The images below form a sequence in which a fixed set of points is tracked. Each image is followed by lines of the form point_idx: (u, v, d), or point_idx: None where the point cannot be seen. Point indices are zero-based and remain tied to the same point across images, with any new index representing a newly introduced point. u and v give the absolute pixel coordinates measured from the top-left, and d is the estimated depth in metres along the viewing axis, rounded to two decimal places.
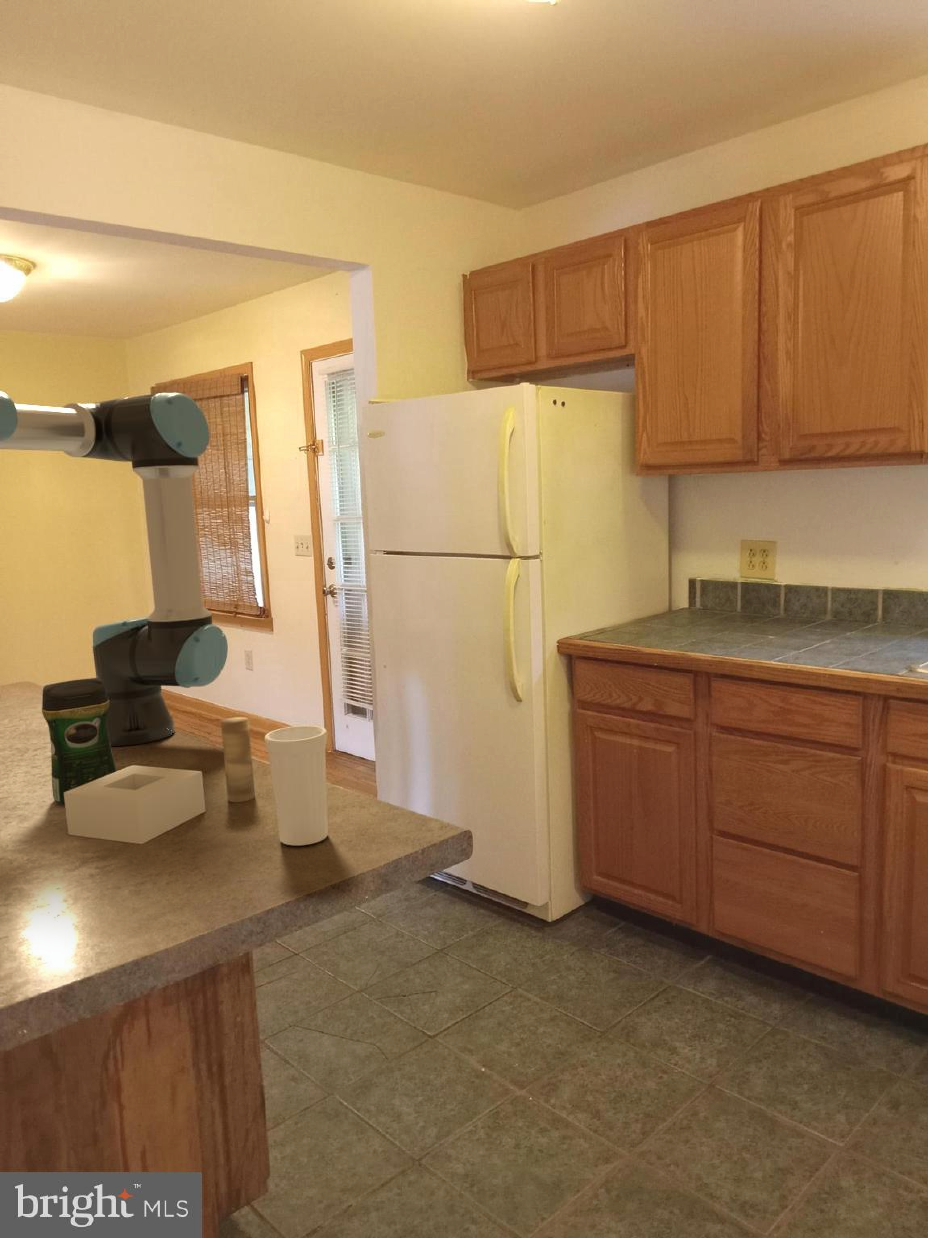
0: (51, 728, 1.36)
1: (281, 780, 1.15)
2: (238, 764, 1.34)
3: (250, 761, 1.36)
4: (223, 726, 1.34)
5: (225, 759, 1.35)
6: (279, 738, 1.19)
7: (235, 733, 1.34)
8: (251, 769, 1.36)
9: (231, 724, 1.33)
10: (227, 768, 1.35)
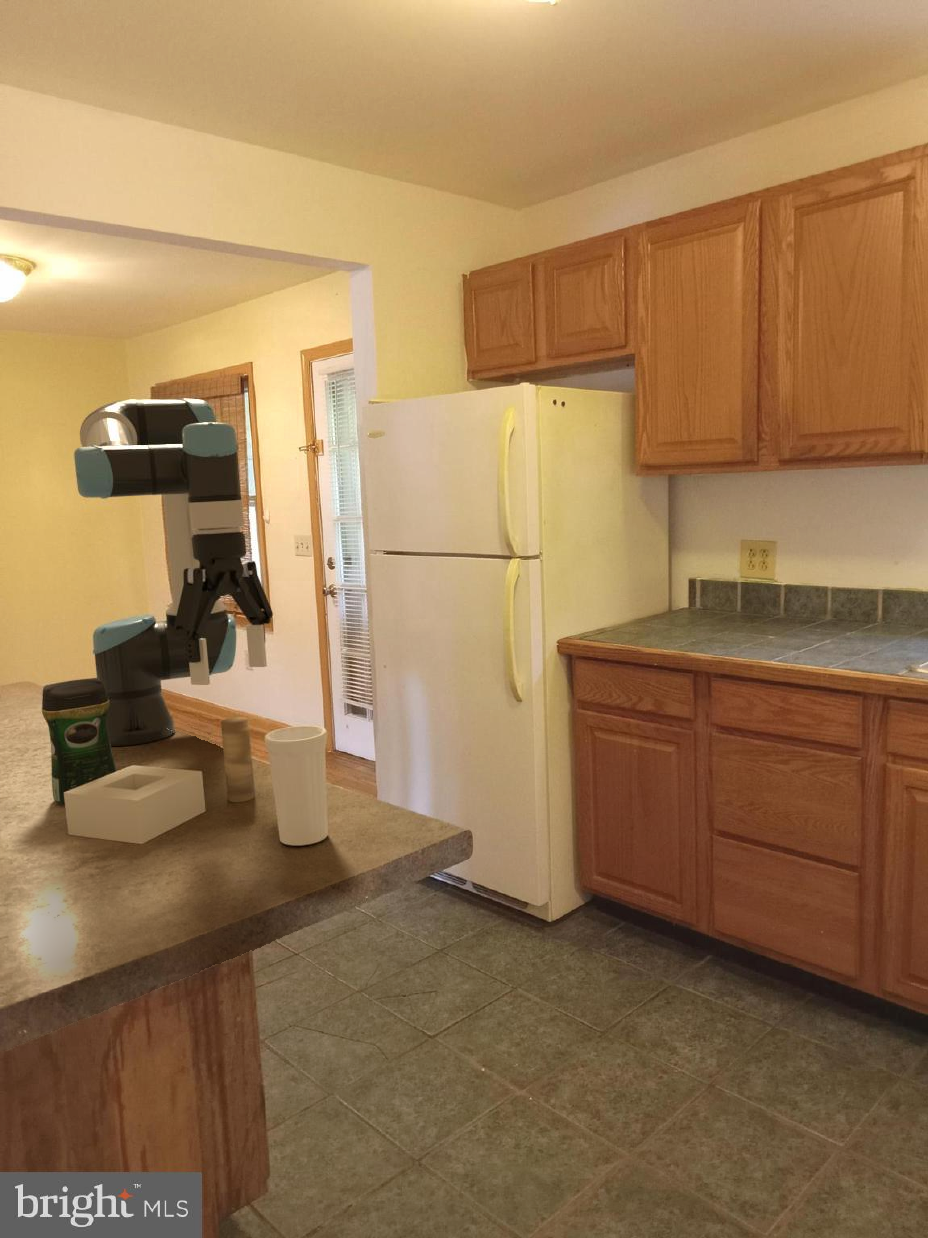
0: (51, 728, 1.36)
1: (281, 780, 1.15)
2: (238, 764, 1.34)
3: (250, 761, 1.36)
4: (223, 726, 1.34)
5: (225, 759, 1.35)
6: (279, 738, 1.19)
7: (235, 733, 1.34)
8: (251, 769, 1.36)
9: (231, 724, 1.33)
10: (227, 768, 1.35)
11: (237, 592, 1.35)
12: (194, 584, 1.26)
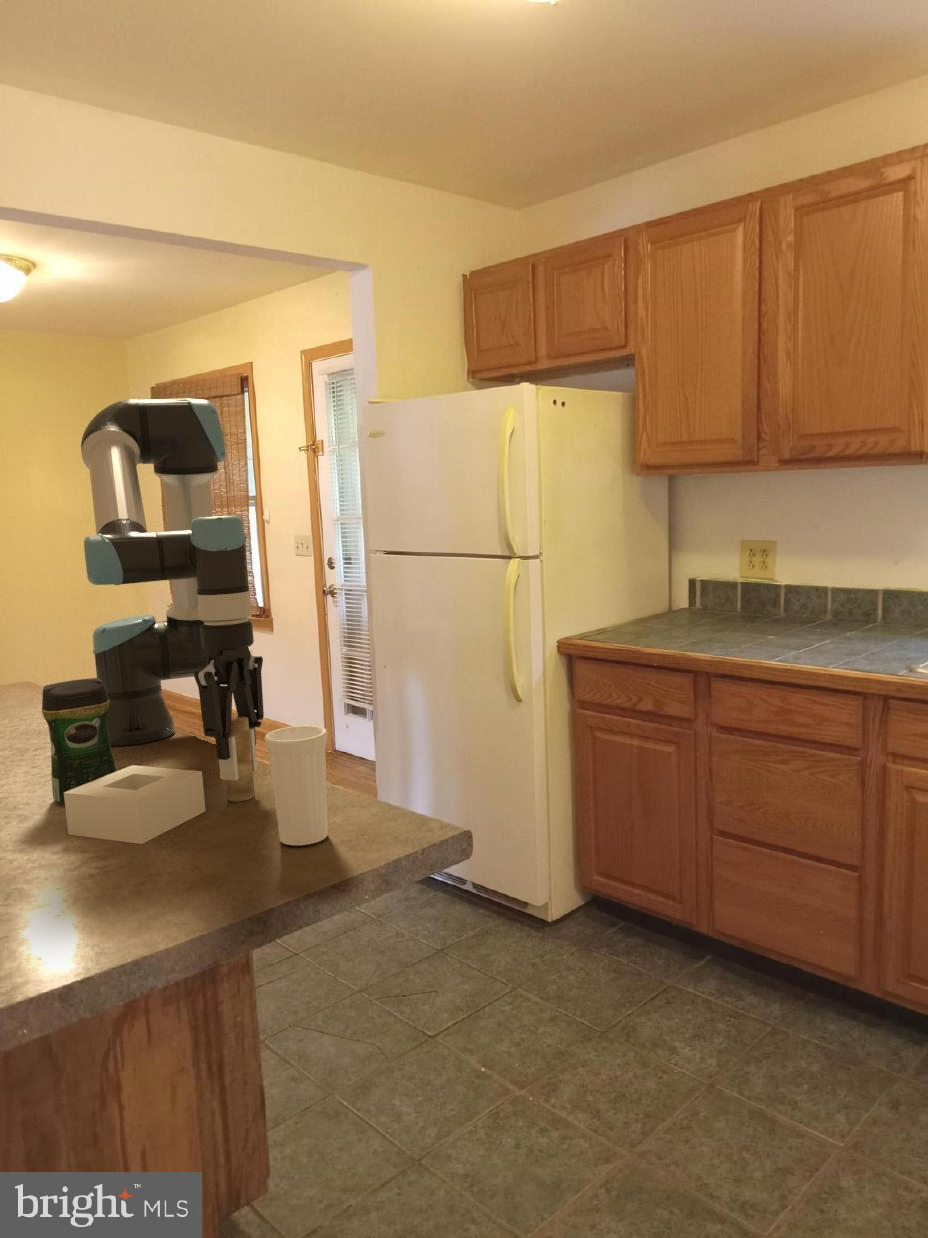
0: (51, 728, 1.36)
1: (281, 780, 1.15)
2: (238, 763, 1.34)
3: (250, 760, 1.36)
4: None
5: None
6: (279, 738, 1.19)
7: (235, 732, 1.34)
8: (251, 768, 1.36)
9: (231, 723, 1.34)
10: None
11: (238, 682, 1.36)
12: (209, 688, 1.29)
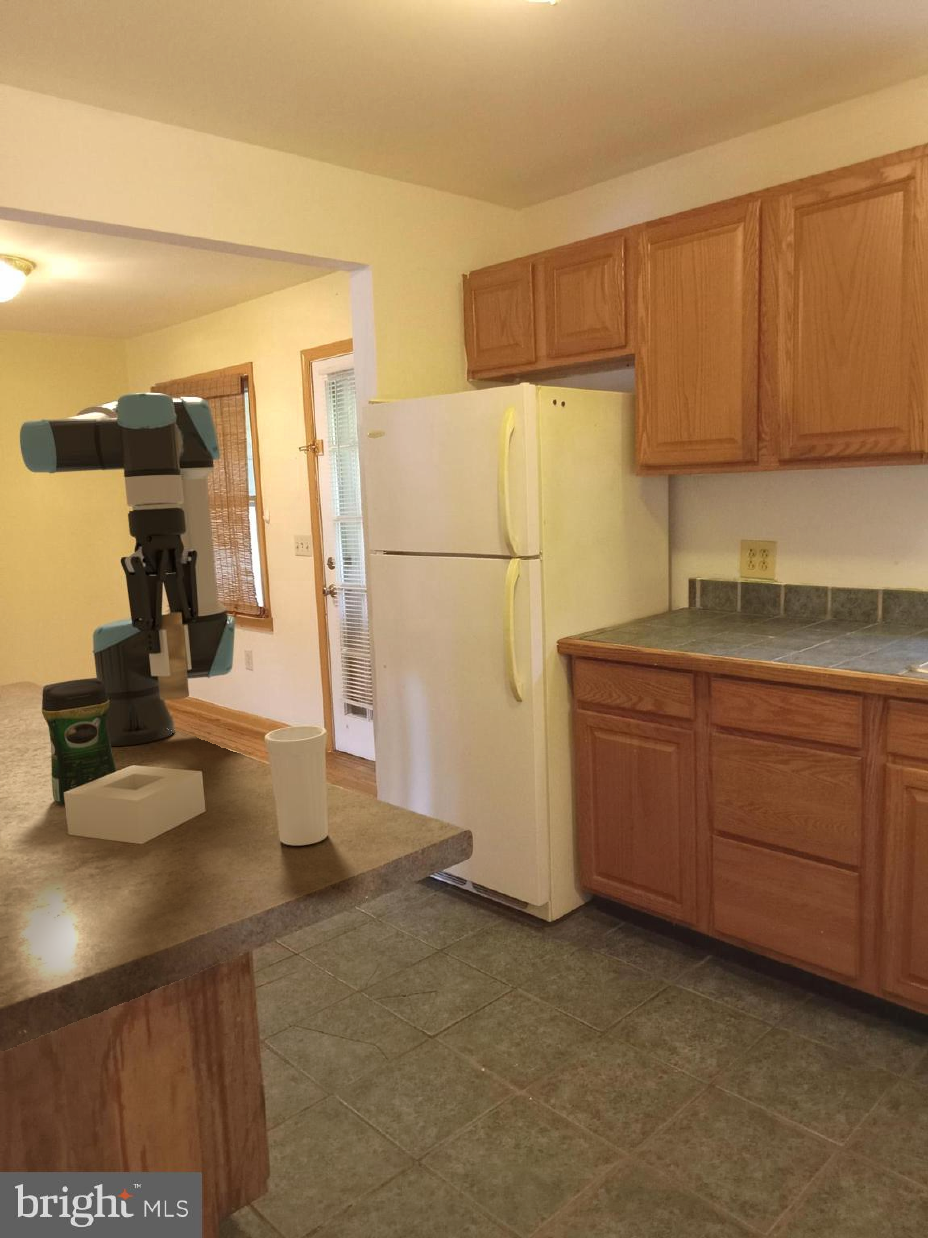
0: (51, 728, 1.36)
1: (280, 780, 1.15)
2: (170, 659, 1.27)
3: (183, 657, 1.29)
4: None
5: None
6: (279, 738, 1.19)
7: (166, 625, 1.26)
8: (184, 666, 1.29)
9: (162, 616, 1.26)
10: None
11: (170, 575, 1.28)
12: (136, 574, 1.22)
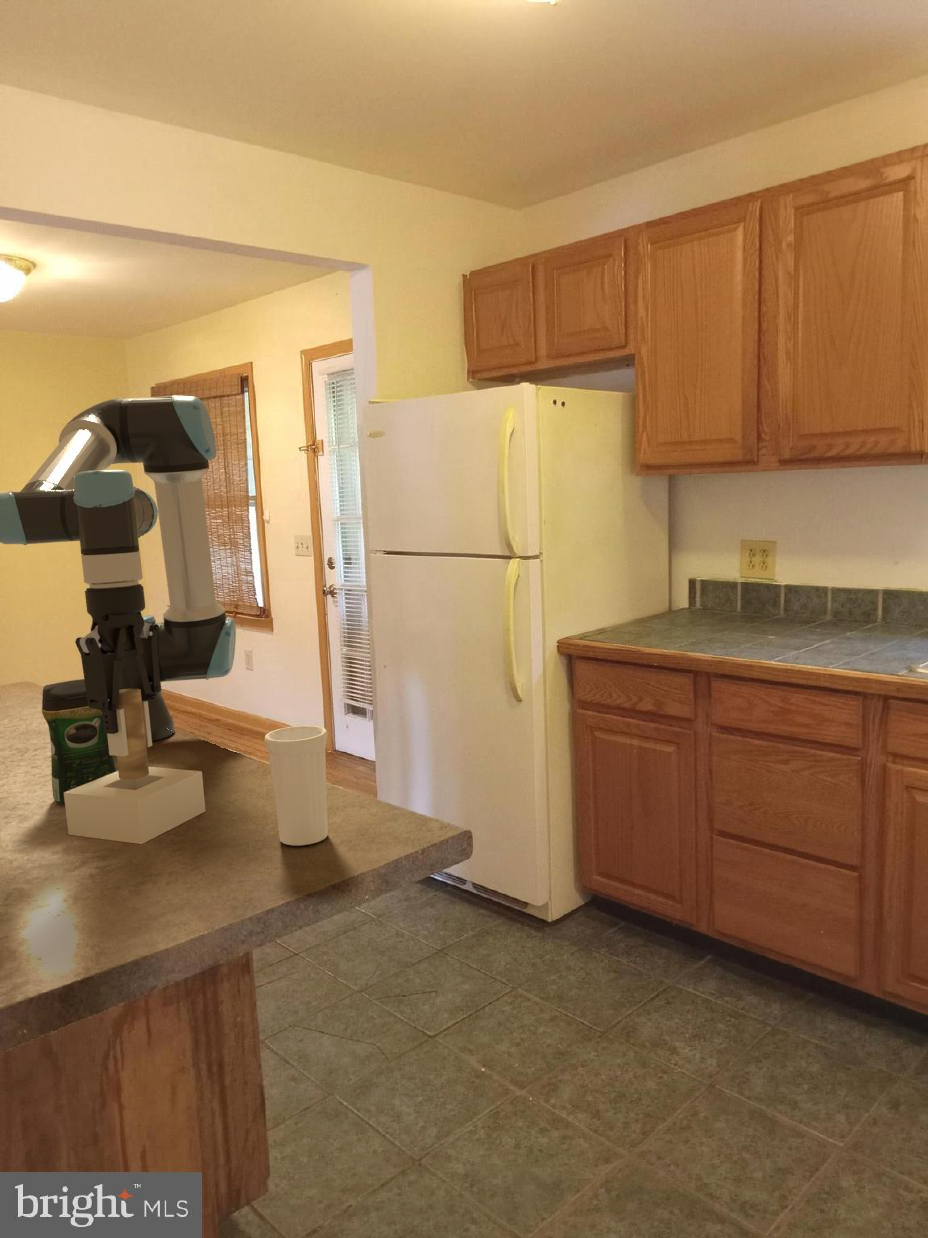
0: (51, 728, 1.36)
1: (281, 780, 1.15)
2: (128, 738, 1.25)
3: (142, 735, 1.26)
4: None
5: None
6: (279, 738, 1.19)
7: (124, 704, 1.24)
8: (144, 744, 1.26)
9: (120, 695, 1.24)
10: None
11: (129, 651, 1.26)
12: (91, 655, 1.19)
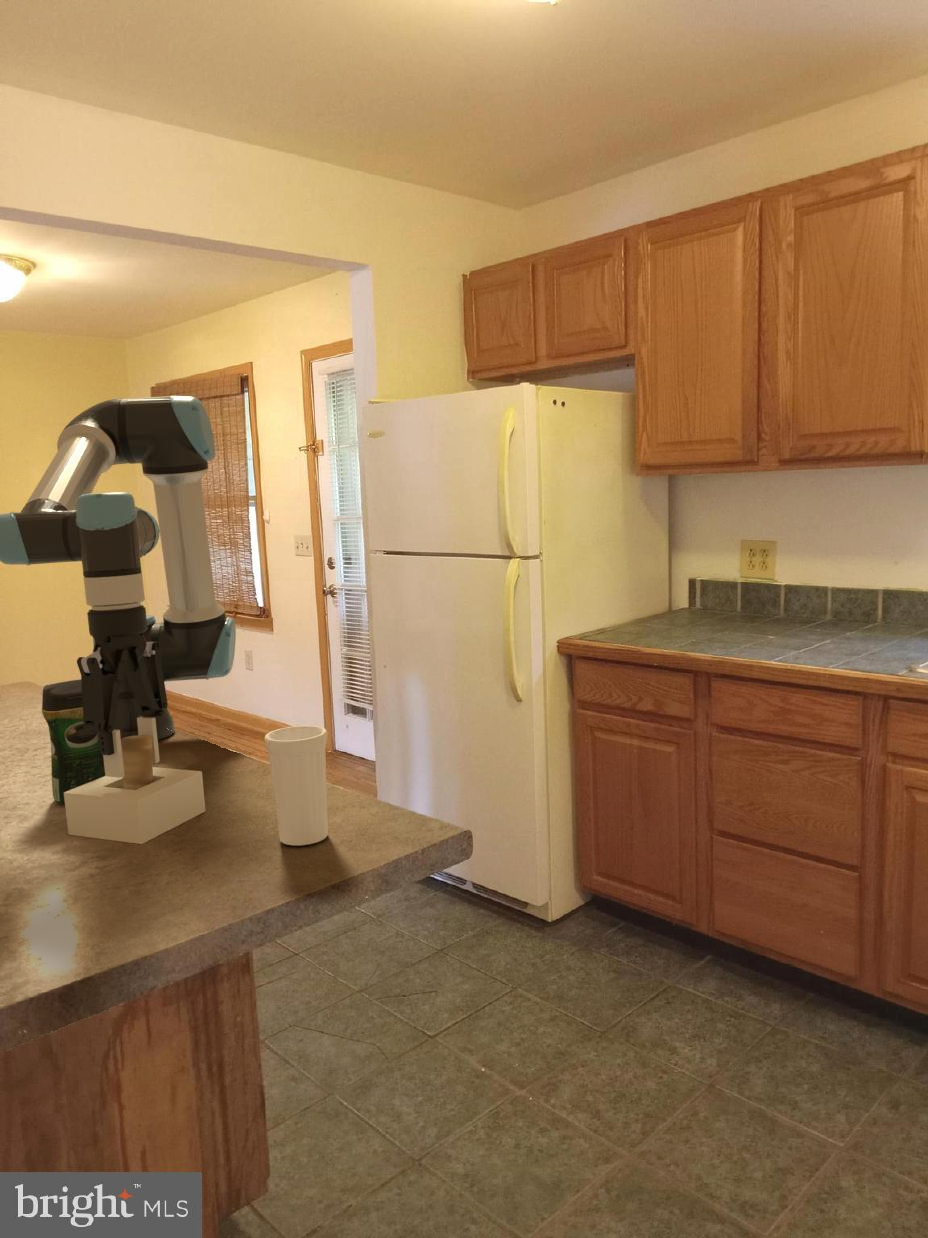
0: (51, 728, 1.36)
1: (281, 780, 1.15)
2: (137, 784, 1.26)
3: (150, 782, 1.28)
4: (123, 743, 1.26)
5: (123, 779, 1.27)
6: (279, 738, 1.19)
7: (135, 751, 1.26)
8: None
9: (131, 741, 1.26)
10: (125, 788, 1.26)
11: (133, 672, 1.27)
12: (92, 675, 1.19)
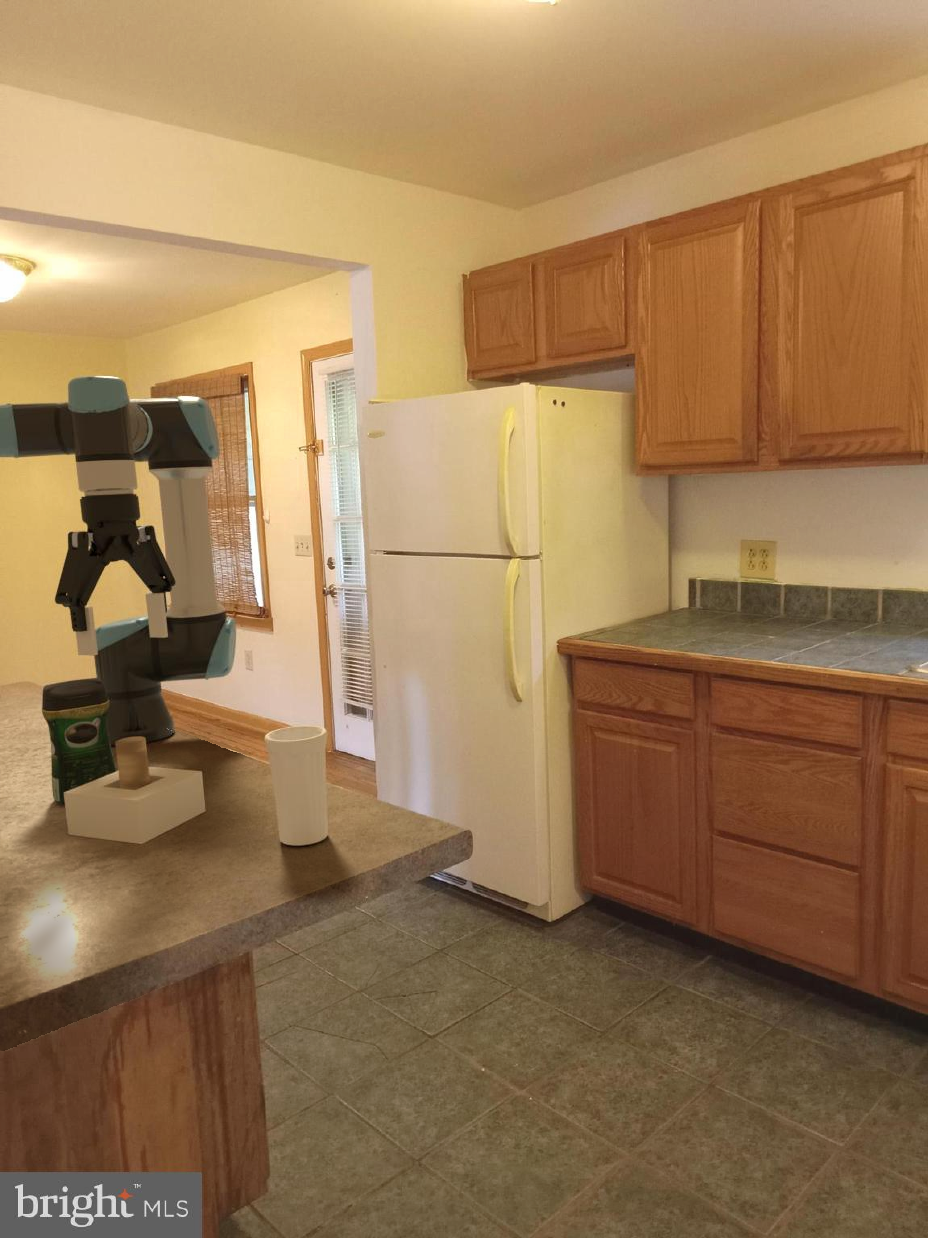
0: (51, 728, 1.36)
1: (281, 780, 1.15)
2: (134, 787, 1.26)
3: (148, 783, 1.27)
4: (117, 747, 1.25)
5: (120, 782, 1.26)
6: (279, 738, 1.19)
7: (129, 754, 1.25)
8: None
9: (125, 745, 1.25)
10: None
11: (132, 557, 1.28)
12: (78, 548, 1.18)
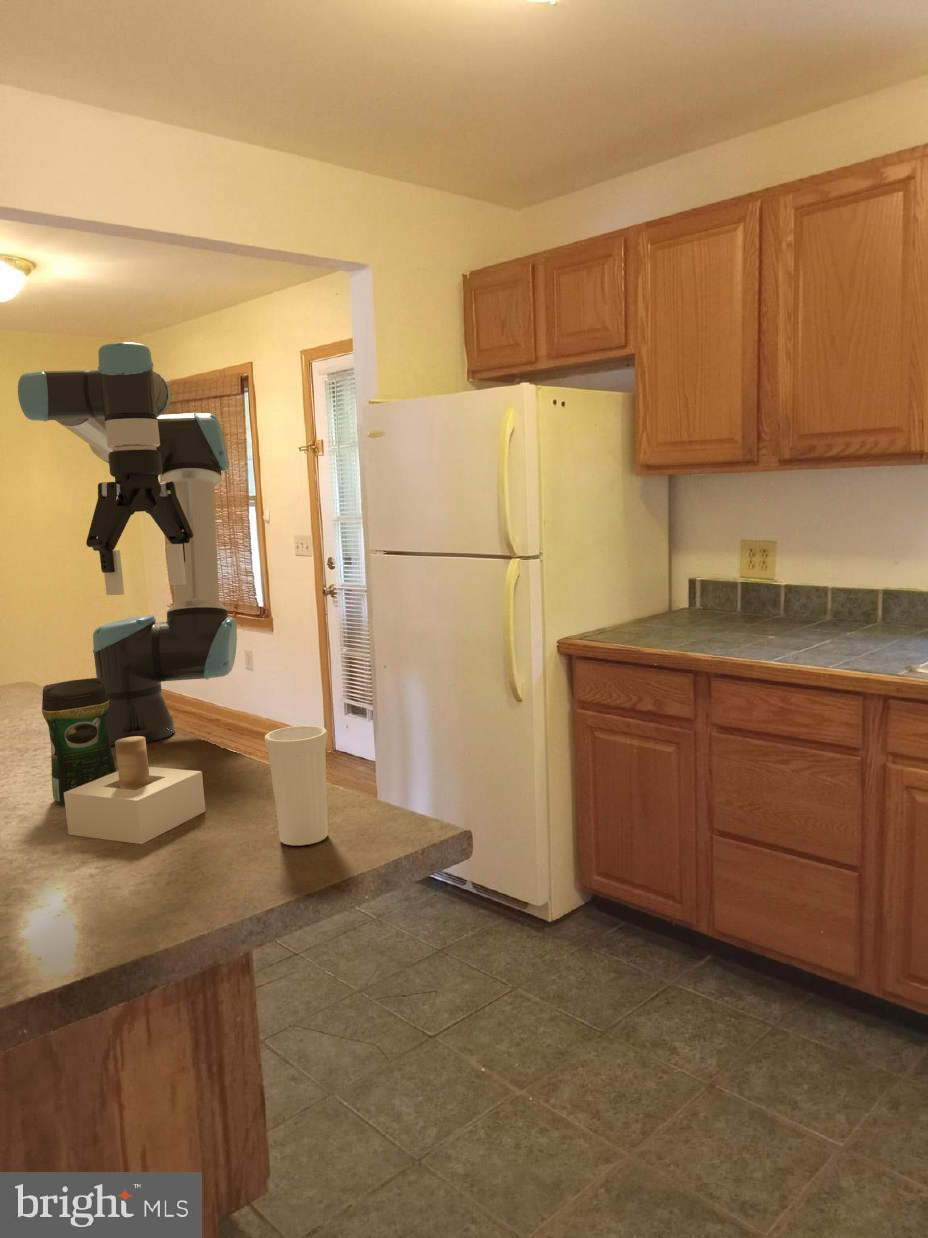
0: (51, 728, 1.36)
1: (281, 780, 1.15)
2: (134, 786, 1.26)
3: (147, 783, 1.27)
4: (117, 746, 1.25)
5: (120, 781, 1.26)
6: (279, 738, 1.19)
7: (129, 753, 1.25)
8: None
9: (125, 744, 1.25)
10: None
11: (154, 510, 1.40)
12: (108, 497, 1.31)
